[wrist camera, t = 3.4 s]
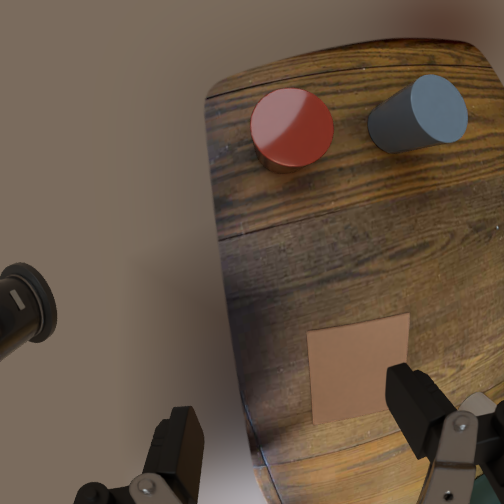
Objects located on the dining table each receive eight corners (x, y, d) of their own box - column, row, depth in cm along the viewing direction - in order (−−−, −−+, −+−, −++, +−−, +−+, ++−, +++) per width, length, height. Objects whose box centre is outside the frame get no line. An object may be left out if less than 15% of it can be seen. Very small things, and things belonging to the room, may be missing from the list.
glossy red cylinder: (259, 177, 29) (256, 172, 19) (250, 123, 28) (244, 92, 18) (315, 170, 28) (340, 162, 19) (306, 116, 27) (326, 84, 18)
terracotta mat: (312, 423, 35) (313, 425, 34) (306, 331, 32) (306, 332, 31) (399, 404, 34) (400, 406, 33) (408, 312, 31) (410, 313, 31)
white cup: (471, 386, 33) (493, 412, 26) (493, 390, 33) (514, 414, 27) (446, 421, 35) (464, 449, 28) (469, 423, 35) (487, 448, 28)
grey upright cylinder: (372, 155, 28) (418, 143, 18) (363, 103, 27) (403, 71, 17) (417, 152, 27) (473, 143, 18) (408, 103, 26) (459, 77, 17)
